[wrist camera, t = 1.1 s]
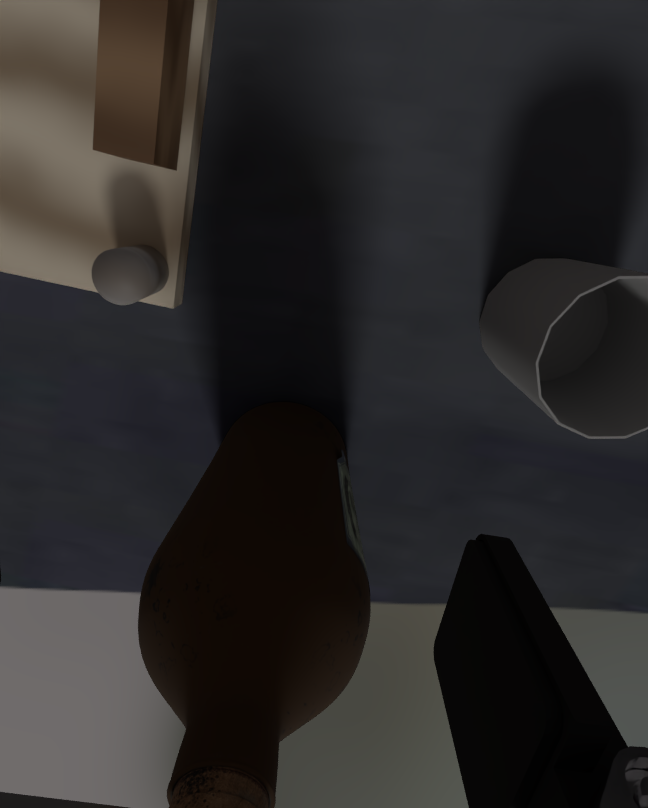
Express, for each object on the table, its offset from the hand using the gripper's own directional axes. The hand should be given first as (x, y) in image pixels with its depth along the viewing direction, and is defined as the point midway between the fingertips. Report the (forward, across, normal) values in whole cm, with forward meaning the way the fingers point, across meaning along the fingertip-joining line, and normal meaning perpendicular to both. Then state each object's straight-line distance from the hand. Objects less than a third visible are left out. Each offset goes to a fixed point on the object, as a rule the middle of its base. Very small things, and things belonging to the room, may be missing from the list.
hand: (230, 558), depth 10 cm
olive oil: (+26, -1, +11) cm, 28 cm away
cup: (+26, -16, -2) cm, 31 cm away
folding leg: (+23, +9, -15) cm, 29 cm away
